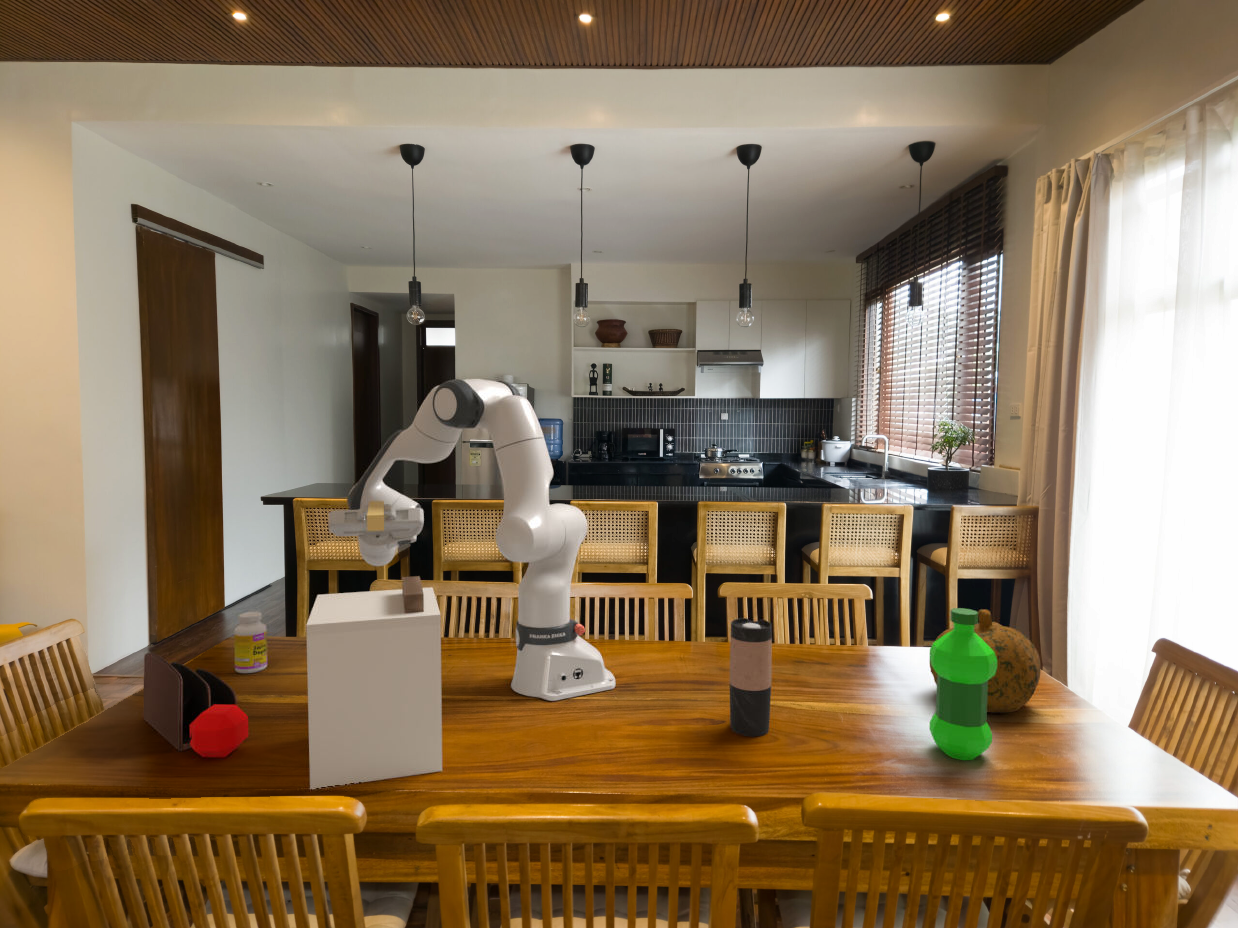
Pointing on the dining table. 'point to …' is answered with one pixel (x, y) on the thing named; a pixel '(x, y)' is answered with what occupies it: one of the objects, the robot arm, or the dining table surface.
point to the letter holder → (179, 697)
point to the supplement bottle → (250, 643)
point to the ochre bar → (375, 516)
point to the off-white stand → (373, 688)
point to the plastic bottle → (962, 688)
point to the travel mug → (750, 676)
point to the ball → (218, 730)
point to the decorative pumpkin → (1007, 665)
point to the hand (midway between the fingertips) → (376, 507)
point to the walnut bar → (412, 594)
